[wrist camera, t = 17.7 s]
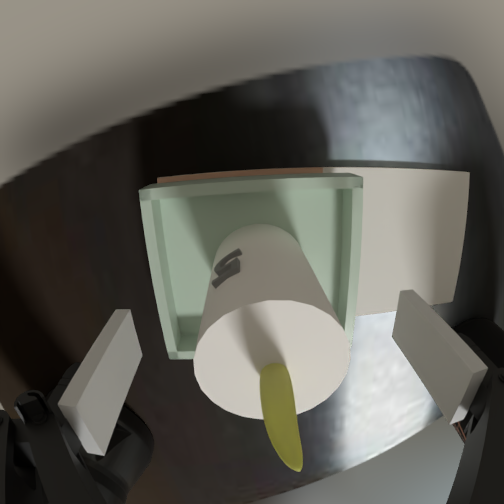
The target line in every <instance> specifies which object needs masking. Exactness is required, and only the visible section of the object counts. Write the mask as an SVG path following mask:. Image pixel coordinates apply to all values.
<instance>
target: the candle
mask: <svg viewBox="0 0 504 504" xmlns="http://www.w3.org/2000/svg"><path fill="white" fill-rule="evenodd" d="M350 359H351V356H350V343H349V340H348V338H347V336H346V334H345V332H344V330H343V327H342V325H341V323H340V321H339V319H338V318H337V316H336V314H335V312H334V310H333V308H332V306H331V304H330V302H329V300H328V298H327V296H326V294H325V292H324V290H323V288H322V287H321V285H320V283H319V281H318V279H317V277H316V275H315V273H314V271H313V269H312V268H311V266H310V264H309V262H308V260H307V258H306V256H305V255H304V253H303V251H302V249H301V247H300V245H299V243H298V242H297V241H296V240H295V239H294V238H293V237H292V235H291V234H290V233H288V232H286V231H285V230H283V229H281V228H280V227H276V226H273V225H269V224H252V225H247V226H243V227H241V228H239V229H237V230H235V231H234V232H232V233H231V234H230V235H229V236H227V237H226V238H225V239H224V240H223V241H222V243H221V245H220V246H219V248H218V250H217V252H216V255H215V259H214V263H213V267H212V272H211V276H210V281H209V286H208V290H207V295H206V300H205V305H204V310H203V314H202V319H201V324H200V329H199V334H198V339H197V344H196V349H195V355H194V371H195V377H196V379H197V381H198V383H199V385H200V387H201V390H202V391H203V392H204V393H205V394H206V395H207V396H208V397H209V398H210V400H211V401H213V402H214V403H216V404H217V405H219V406H220V407H222V408H223V409H225V410H227V411H229V412H232V413H234V414H237V415H240V416H243V417H249V418H255V419H264V423H265V426H266V429H267V433H268V435H269V438H270V440H271V443H272V445H273V447H274V448H275V450H276V452H277V454H278V455H279V457H280V458H281V459H282V460H283V462H284V463H285V464H286V465H287V466H288V467H290V468H291V469H293V470H294V471H299V472H300V471H301V469H302V465H303V456H302V448H301V442H300V436H299V430H298V423H297V414H299V413H302V412H304V411H307V410H309V409H312V408H313V407H315V406H317V405H318V404H320V403H321V402H323V401H324V400H326V399H327V398H328V397H329V396H330V395H331V394H332V393H333V392H334V391H335V390H336V389H337V388H338V387H339V385H340V384H341V382H342V380H343V379H344V377H345V375H346V374H347V370H348V367H349V363H350Z"/></svg>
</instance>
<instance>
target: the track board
mask: <svg viewBox="0 0 504 504" xmlns="http://www.w3.org/2000/svg"><path fill="white" fill-rule="evenodd" d="M300 173H352V174H355V175H358V176H362V177H363V217H362V240H361V257H360V271H359V284H358V295H357V305H356V314H355V316H361V315H369V314H377V313H385V312H392V311H397V306H398V300H399V293H400V291H403V290H410V289H413V290H414V291H415V292H416V293H417V294H418V295H419V296H420V297H421V298H422V299H423V300H424V301H425V302H426V303H427V304H428V305H429V306H431V305H437V304H443V303H449V302H453V298H454V293H455V288H456V283H457V278H458V273H459V267H460V262H461V256H462V249H463V242H464V235H465V226H466V217H467V207H468V194H469V177H470V173H469V172H463V171H449V170H434V169H415V168H387V167H303V168H274V169H254V170H237V171H223V172H210V173H198V174H187V175H177V176H167V177H159V178H157V183H167V182H176V181H187V180H198V179H210V178H223V177H237V176H254V175H274V174H300Z"/></svg>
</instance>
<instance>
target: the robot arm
mask: <svg viewBox="0 0 504 504" xmlns="http://www.w3.org/2000/svg"><path fill="white" fill-rule="evenodd" d="M392 338H393V339H394V341H395V342H396V343H397V345H398V346H399V348H400V349H401V351H402V352H403V354H404V355H405V357H406V358H407V360H408V361H409V363H410V364H411V366H412V367H413V369H414V370H415V372H416V373H417V375H418V376H419V378H420V379H421V381H422V382H423V384H424V385H425V387H426V388H427V390H428V392H429V393H430V395H431V396H432V398H433V399H434V401H435V403H436V404H437V406H438V407H439V409H440V410H441V412H442V414H443V415H444V417H445V418H446V420H447V422H448V423H449V425H450V424H453V423H455V422H458V421H461V420H463V419H464V418H465V416H466V414H467V412H468V410H469V409H470V411H471V412H472V414H473V416H472V417H471V419H470V421H469V423H468V425H467V426H466V428H465V430H464V432H463V433H466V431H467V430H468V432H467V437H466V441H465V445H464V449H463V453H462V456H461V460H460V463H459V467H458V470H457V474H456V477H455V480H454V483H453V486H452V489H451V492H450V495H449V498H448V501H447V503H446V504H504V368H497V367H496V365H495V364H494V363H493V362H492V361H491V360H490V359H489V358H488V357H487V356H486V355H485V354H484V352H483V351H481V349H480V348H479V347H478V346H476V344H475V343H474V342H473V341H472V340H471V339H470V338H469V337H467V336H466V335H464V334H462V333H456V332H455V331H454V330H453V329H452V328H451V327H450V326H449V325H448V324H447V323H446V322H445V321H444V320H443V319H442V318H441V317H440V316H439V315H438V314H437V313H436V312H435V311H434V310H433V309H432V308H431V307H430V306H429V305H428V304H427V303H426V302H425V301H424V300H423V299H422V298H421V297H420V296H419V295H418V294H417V293H416V292H415V291H414V290H413V289H410V290H403V291H400V293H399V300H398V306H397V312H396V318H395V323H394V329H393V334H392ZM141 357H142V352H141V349H140V345H139V342H138V338H137V334H136V331H135V327H134V323H133V319H132V315H131V311H130V309H117V310H115V312H114V313H113V315H112V316H111V318H110V319H109V321H108V322H107V324H106V325H105V327H104V328H103V330H102V331H101V333H100V335H99V336H98V338H97V339H96V341H95V342H94V344H93V346H92V347H91V349H90V350H89V352H88V354H87V355H86V357H85V358H84V360H83V362H82V363H76V362H75V363H74V364H73V365H71V366H70V367H69V368H68V369H67V370H66V371H65V373H64V375H63V376H62V379H60V381H59V383H58V385H57V386H56V387H55V389H53V390H51V391H50V392H49V393H48V395H47V396H46V398H45V397H44V395H43V393H42V392H40V391H38V390H29V391H26V392H24V393H22V394H21V395H20V396H18V397H17V399H16V401H15V402H14V408H15V410H16V411H17V413H18V414H19V416H20V418H21V419H11V418H10V416H9V415H8V413H7V412H6V411H4V410H0V504H125V503H126V499H127V495H128V493H129V491H130V490H131V489H132V487H133V486H134V484H135V483H136V482H137V480H138V479H139V478H140V476H141V475H142V474H143V472H144V471H145V469H146V468H147V467H148V465H149V464H150V461H151V458H152V454H153V450H154V439H153V436H152V434H151V432H150V431H149V429H148V428H147V426H146V425H145V424H144V423H143V422H142V421H141V420H140V419H139V418H138V417H137V416H136V415H135V414H134V413H132V412H131V411H130V410H128V409H127V408H126V407H124V406H123V403H124V401H125V398H126V395H127V393H128V390H129V388H130V385H131V382H132V380H133V377H134V375H135V372H136V370H137V367H138V365H139V362H140V360H141Z"/></svg>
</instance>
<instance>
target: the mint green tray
mask: <svg viewBox="0 0 504 504" xmlns="http://www.w3.org/2000/svg"><path fill="white" fill-rule="evenodd" d="M139 197H140V205H141V212H142V220H143V227H144V234H145V240H146V247H147V253H148V259H149V265H150V270H151V276H152V281H153V287H154V292H155V297H156V302H157V307H158V312H159V316H160V321H161V325H162V330H163V334H164V339H165V343H166V347H167V351H168V356H169V359H194V355H195V349H196V344H197V339H198V334H199V329H200V324H201V319H202V314H203V310H204V305H205V300H206V295H207V290H208V286H209V281H210V276H211V272H212V267H213V263H214V259H215V255H216V252H217V250H218V248H219V246H220V245H221V243H222V241H223V240H224V239H225V238H226V237H227V236H229V235H230V234H231V233H232V232H234V231H235V230H237V229H239V228H241V227H243V226H247V225H252V224H269V225H273V226H276V227H280V228H281V229H283V230H285V231H286V232H288V233H290V234H291V235H292V237H293V238H294V239H295V240H296V241H297V242H298V243H299V245H300V247H301V249H302V251H303V253H304V255H305V256H306V258H307V260H308V262H309V264H310V266H311V268H312V269H313V271H314V273H315V275H316V277H317V279H318V281H319V283H320V285H321V287H322V288H323V290H324V292H325V294H326V296H327V298H328V300H329V302H330V304H331V306H332V308H333V310H334V312H335V314H336V316H337V318H338V319H339V321H340V323H341V325H342V327H343V330H344V332H345V334H346V336H347V338H348V340H349V343H350V347H352V339H353V331H354V323H355V314H356V305H357V295H358V284H359V271H360V257H361V240H362V217H363V177H362V176H358V175H355V174H352V173H300V174H274V175H254V176H237V177H223V178H210V179H198V180H187V181H176V182H167V183H157V184H150V185H148V186H146V187H144V188H142V189H140V190H139Z"/></svg>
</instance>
